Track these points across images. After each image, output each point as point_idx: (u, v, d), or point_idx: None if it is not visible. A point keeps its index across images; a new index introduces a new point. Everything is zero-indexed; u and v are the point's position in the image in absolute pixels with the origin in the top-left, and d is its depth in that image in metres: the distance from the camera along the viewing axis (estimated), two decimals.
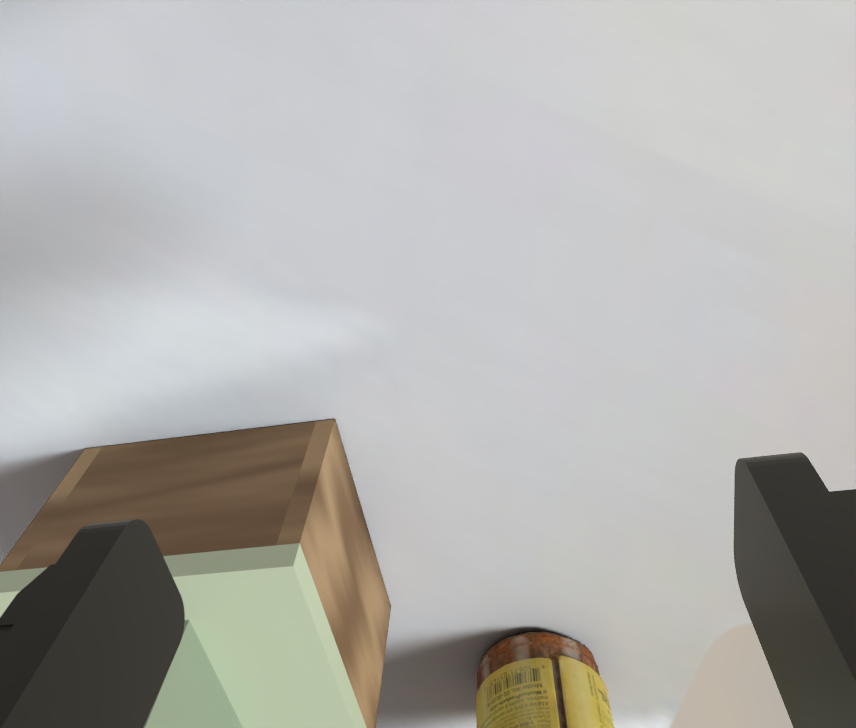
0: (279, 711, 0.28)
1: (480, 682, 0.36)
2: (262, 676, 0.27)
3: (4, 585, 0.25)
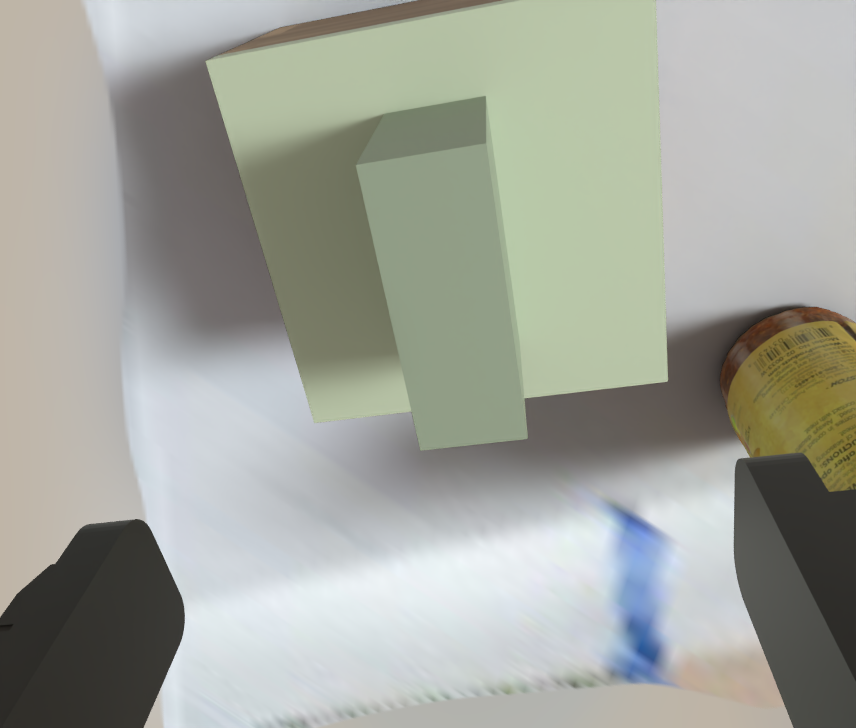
0: (571, 274, 0.21)
1: (732, 372, 0.30)
2: (563, 204, 0.20)
3: (238, 53, 0.19)
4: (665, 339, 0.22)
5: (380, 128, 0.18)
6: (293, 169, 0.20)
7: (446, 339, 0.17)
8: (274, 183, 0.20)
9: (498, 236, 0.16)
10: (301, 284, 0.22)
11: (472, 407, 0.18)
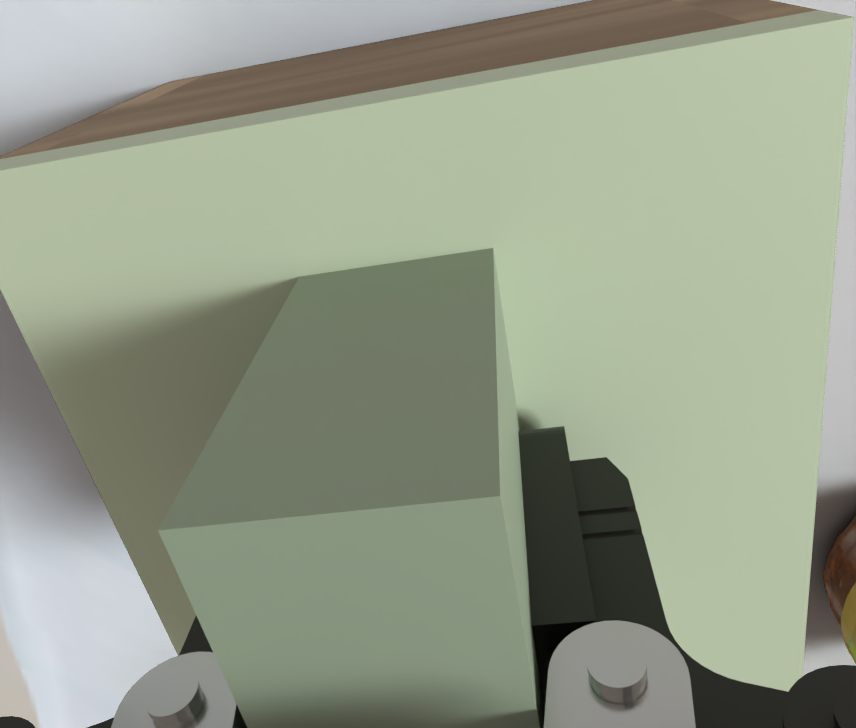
0: (644, 537, 0.12)
1: (849, 573, 0.20)
2: (636, 431, 0.11)
3: (14, 164, 0.10)
4: (803, 635, 0.13)
5: (273, 337, 0.08)
6: (137, 368, 0.11)
7: None
8: (107, 389, 0.11)
9: (528, 676, 0.06)
10: None
11: None
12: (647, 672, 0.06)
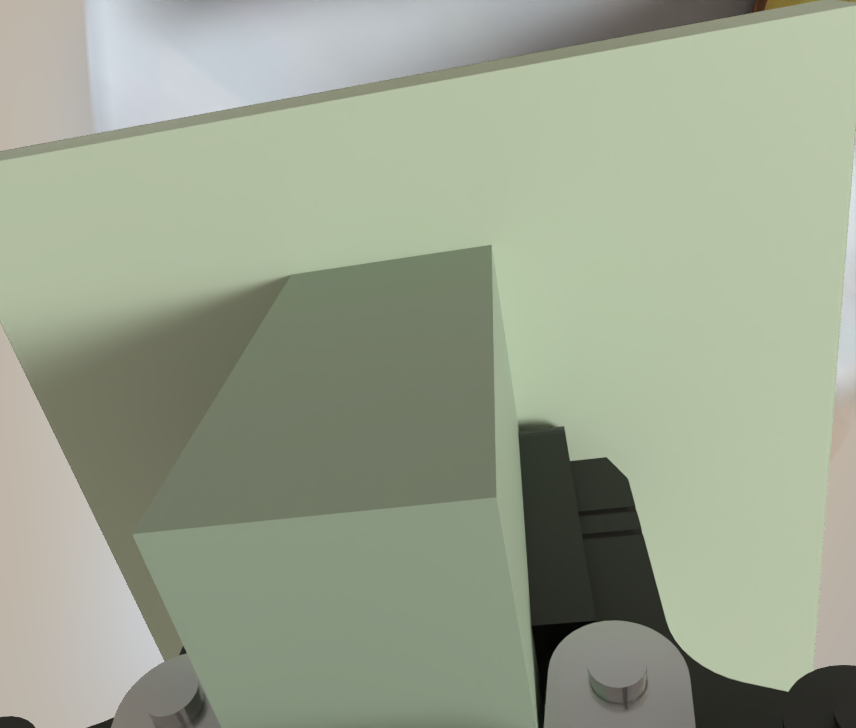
0: (648, 546, 0.11)
1: (766, 0, 0.27)
2: (640, 434, 0.11)
3: None
4: (813, 648, 0.12)
5: (262, 335, 0.08)
6: (125, 369, 0.11)
7: None
8: (94, 392, 0.11)
9: (527, 691, 0.06)
10: None
11: None
12: (646, 671, 0.06)
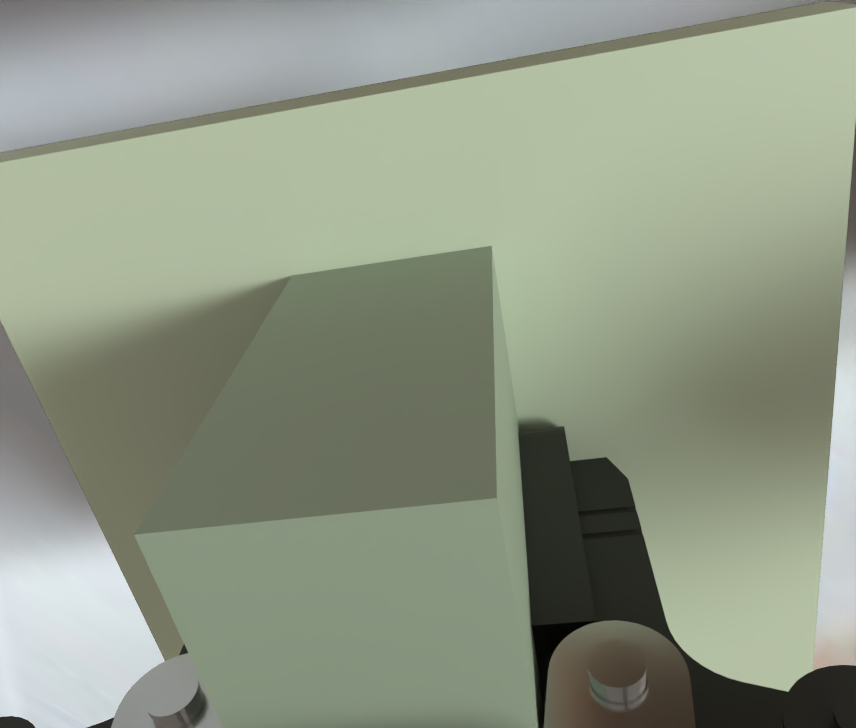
0: (648, 546, 0.12)
1: None
2: (639, 436, 0.11)
3: (0, 159, 0.10)
4: (812, 648, 0.12)
5: (263, 336, 0.08)
6: (126, 370, 0.11)
7: None
8: (94, 392, 0.11)
9: (527, 690, 0.06)
10: None
11: None
12: (647, 672, 0.06)
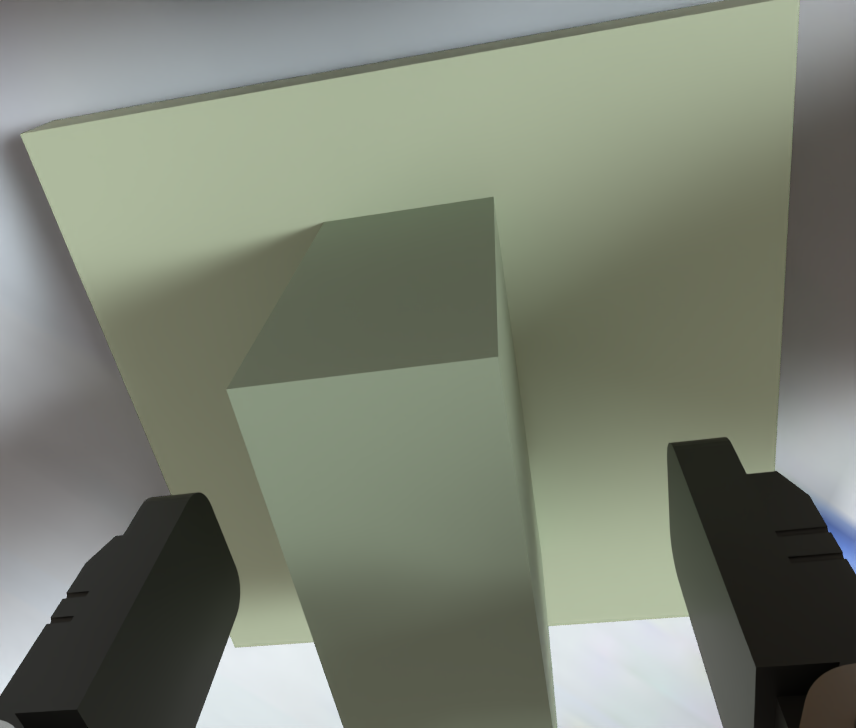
0: (625, 463, 0.13)
1: None
2: (618, 364, 0.12)
3: (78, 121, 0.11)
4: None
5: (306, 264, 0.10)
6: (180, 304, 0.12)
7: (417, 674, 0.09)
8: (152, 325, 0.13)
9: (520, 519, 0.08)
10: (203, 468, 0.14)
11: None
12: None
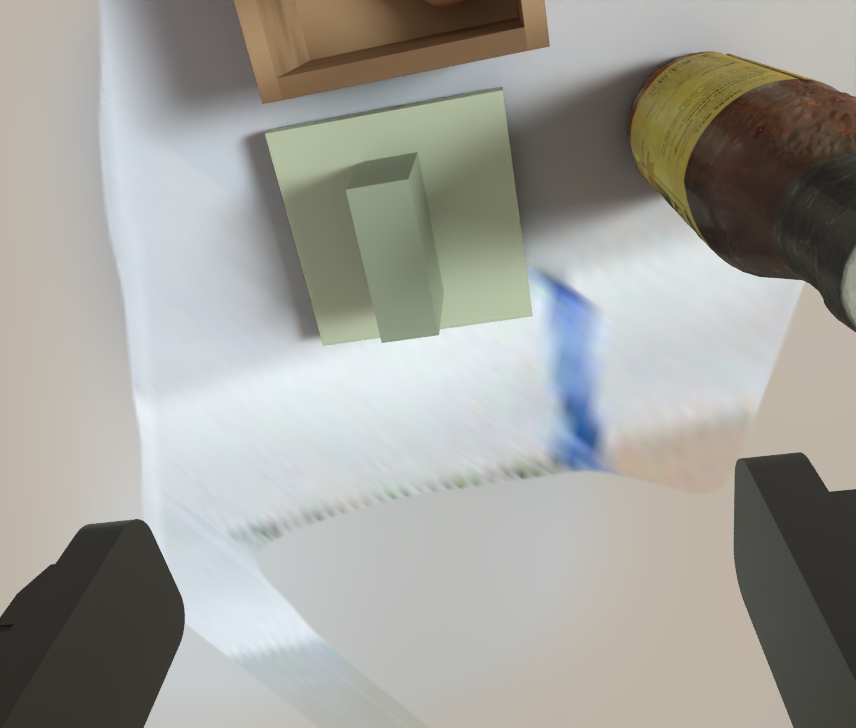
0: (471, 251, 0.37)
1: None
2: (463, 211, 0.36)
3: (282, 129, 0.35)
4: (528, 289, 0.38)
5: (359, 170, 0.33)
6: (312, 192, 0.36)
7: (393, 279, 0.32)
8: (301, 200, 0.36)
9: (416, 224, 0.31)
10: (316, 258, 0.37)
11: (408, 317, 0.33)
12: None
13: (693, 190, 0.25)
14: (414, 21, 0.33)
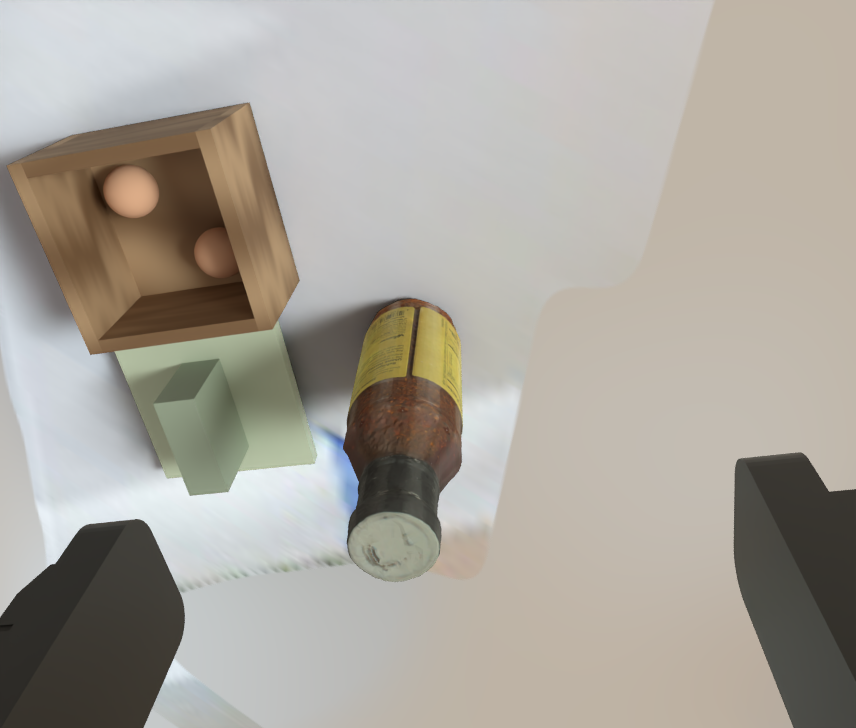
0: (265, 421, 0.51)
1: None
2: (256, 395, 0.50)
3: None
4: (308, 446, 0.52)
5: (173, 377, 0.48)
6: (148, 381, 0.50)
7: (192, 457, 0.47)
8: (141, 385, 0.51)
9: (203, 425, 0.46)
10: (155, 422, 0.52)
11: (206, 480, 0.48)
12: None
13: None
14: None
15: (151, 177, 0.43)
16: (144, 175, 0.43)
